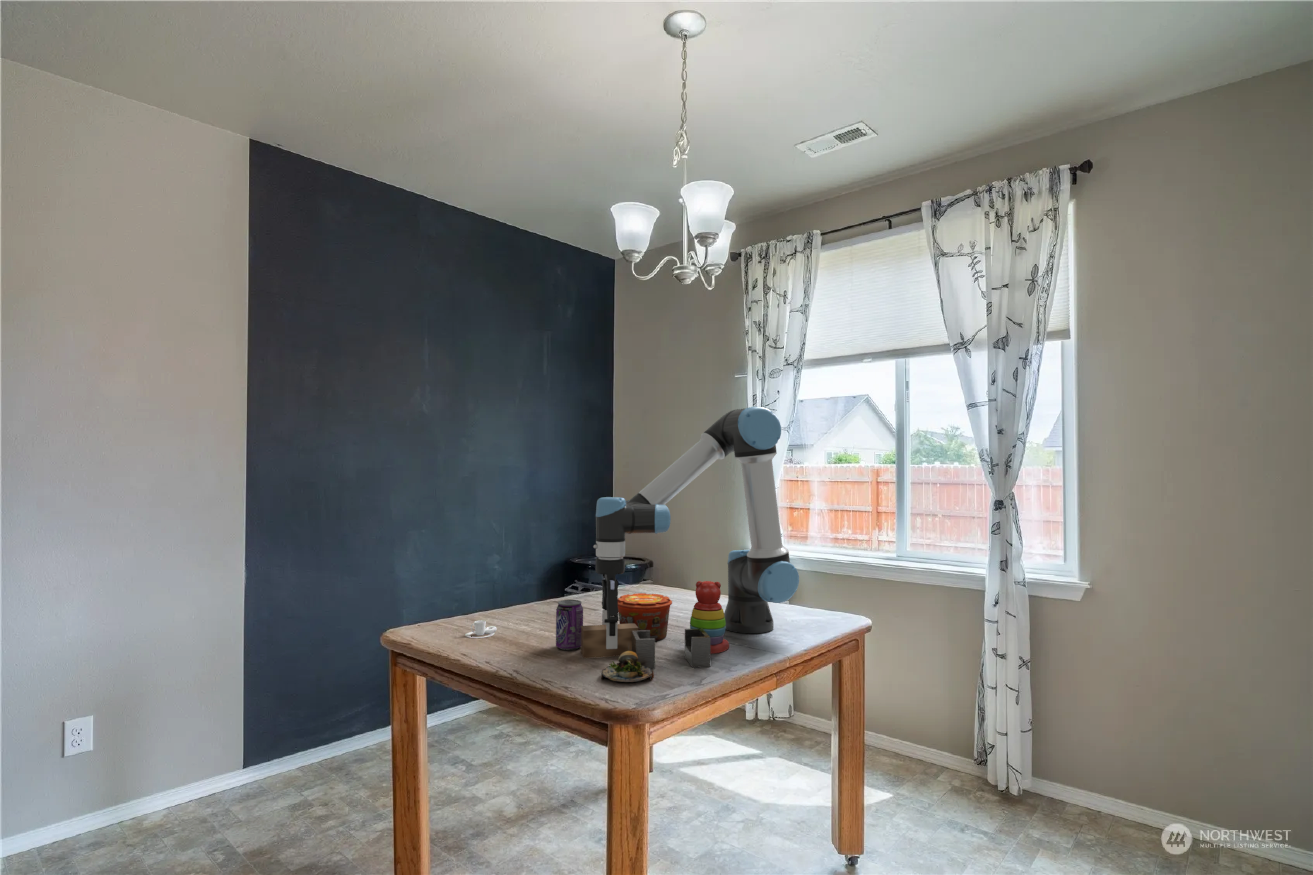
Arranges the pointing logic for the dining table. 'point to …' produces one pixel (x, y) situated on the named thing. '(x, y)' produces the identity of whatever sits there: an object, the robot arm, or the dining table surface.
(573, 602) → the beverage can
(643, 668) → the burger
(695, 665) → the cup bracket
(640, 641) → the cup bracket
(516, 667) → the dining table surface
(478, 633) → the teacup and saucer
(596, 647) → the walnut rail
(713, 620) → the stacking bear
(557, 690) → the dining table surface
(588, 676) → the dining table surface
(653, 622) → the food container
